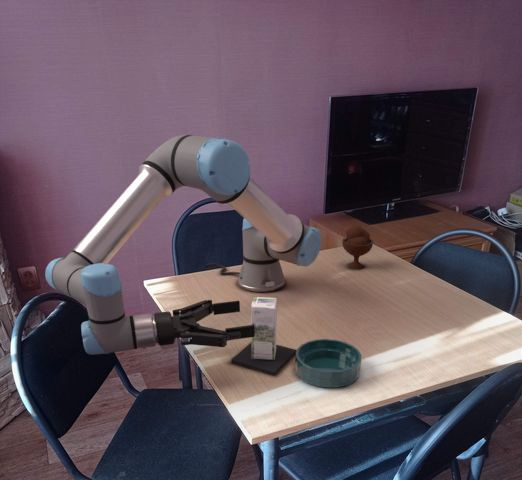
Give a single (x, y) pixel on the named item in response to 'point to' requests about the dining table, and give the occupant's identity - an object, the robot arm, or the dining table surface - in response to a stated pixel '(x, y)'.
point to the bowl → (328, 363)
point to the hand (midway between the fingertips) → (246, 317)
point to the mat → (264, 365)
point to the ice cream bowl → (357, 244)
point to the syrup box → (264, 328)
